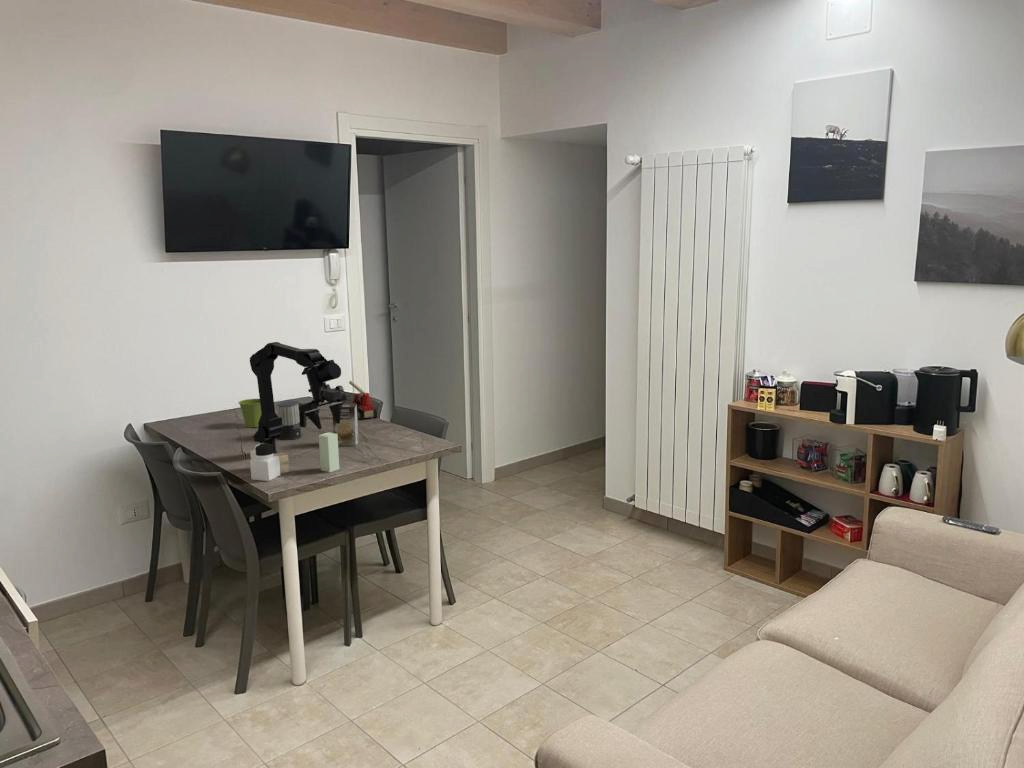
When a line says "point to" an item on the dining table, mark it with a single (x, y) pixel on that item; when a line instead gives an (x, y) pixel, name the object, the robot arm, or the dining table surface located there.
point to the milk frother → (291, 419)
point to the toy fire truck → (363, 404)
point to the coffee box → (347, 426)
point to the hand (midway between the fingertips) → (329, 426)
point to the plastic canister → (252, 454)
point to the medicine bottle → (264, 463)
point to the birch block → (283, 462)
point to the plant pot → (251, 412)
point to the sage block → (329, 452)
